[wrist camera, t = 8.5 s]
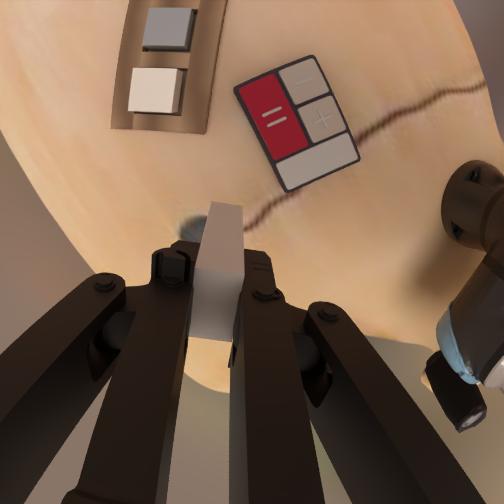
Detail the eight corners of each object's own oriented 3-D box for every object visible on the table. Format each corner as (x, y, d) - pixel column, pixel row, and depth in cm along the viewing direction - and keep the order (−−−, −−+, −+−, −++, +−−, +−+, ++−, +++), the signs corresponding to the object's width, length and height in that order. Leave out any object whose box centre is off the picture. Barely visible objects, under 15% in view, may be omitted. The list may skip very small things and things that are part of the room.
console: (236, -43, 27) (236, -52, 25) (206, 132, 39) (203, 134, 36) (149, -44, 26) (143, -52, 23) (118, 126, 37) (110, 128, 35)
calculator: (315, 52, 32) (364, 161, 37) (308, 58, 36) (353, 156, 41) (231, 87, 33) (286, 196, 39) (232, 90, 37) (282, 188, 43)
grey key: (195, 16, 31) (191, 8, 27) (189, 51, 33) (184, 46, 29) (156, 15, 30) (149, 7, 26) (150, 50, 32) (141, 45, 29)
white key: (183, 72, 32) (177, 68, 29) (177, 111, 34) (171, 113, 31) (142, 70, 32) (132, 67, 28) (138, 109, 34) (127, 111, 30)
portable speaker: (417, 377, 64) (449, 440, 46) (429, 349, 60) (468, 414, 42) (444, 370, 64) (477, 428, 47) (457, 342, 60) (497, 402, 42)
